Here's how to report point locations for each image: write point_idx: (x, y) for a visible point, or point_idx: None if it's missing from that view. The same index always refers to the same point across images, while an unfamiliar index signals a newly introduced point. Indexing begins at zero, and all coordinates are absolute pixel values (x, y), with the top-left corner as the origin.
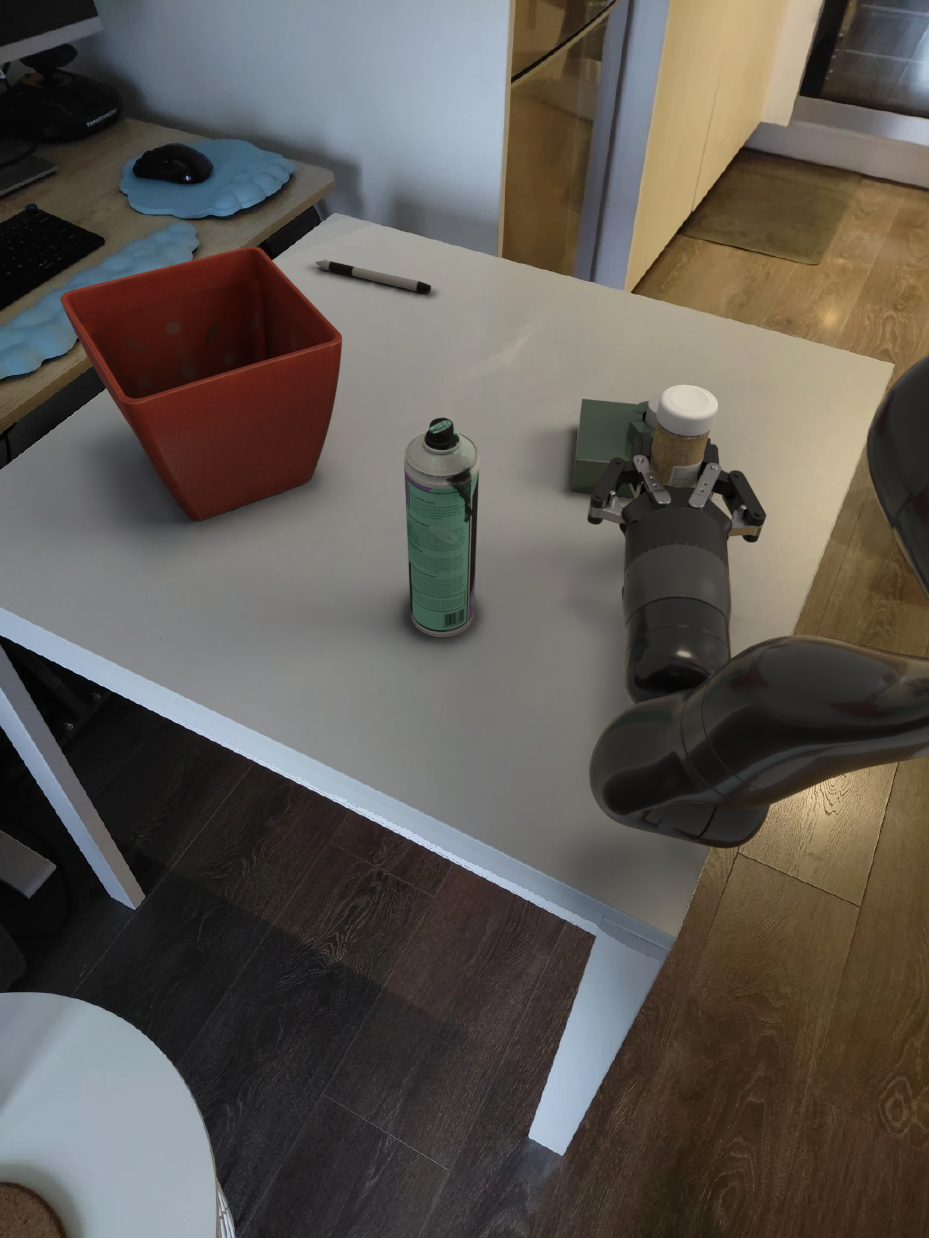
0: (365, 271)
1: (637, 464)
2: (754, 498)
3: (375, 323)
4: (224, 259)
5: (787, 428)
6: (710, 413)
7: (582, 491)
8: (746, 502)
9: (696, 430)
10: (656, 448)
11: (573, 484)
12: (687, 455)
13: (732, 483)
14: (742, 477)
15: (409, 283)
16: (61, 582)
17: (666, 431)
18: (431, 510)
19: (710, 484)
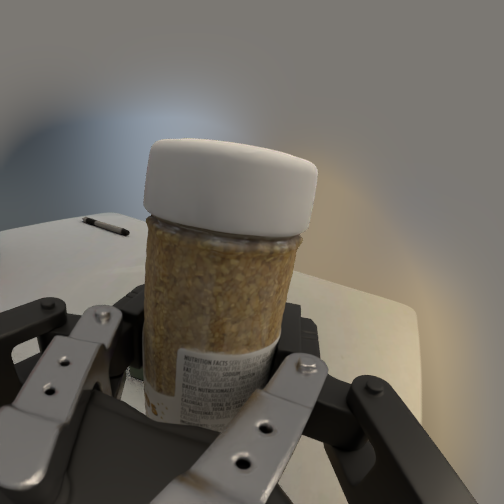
0: (100, 222)
1: (82, 321)
2: (443, 467)
3: (84, 241)
4: None
5: (369, 340)
6: (293, 159)
7: (141, 379)
8: (424, 491)
9: (240, 206)
10: (145, 291)
11: (130, 368)
12: (218, 314)
13: (364, 417)
14: (390, 395)
15: (118, 228)
16: None
17: (153, 223)
18: None
19: (288, 431)
